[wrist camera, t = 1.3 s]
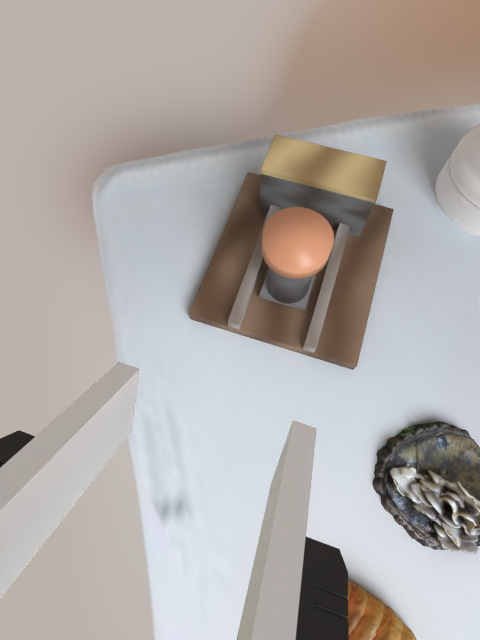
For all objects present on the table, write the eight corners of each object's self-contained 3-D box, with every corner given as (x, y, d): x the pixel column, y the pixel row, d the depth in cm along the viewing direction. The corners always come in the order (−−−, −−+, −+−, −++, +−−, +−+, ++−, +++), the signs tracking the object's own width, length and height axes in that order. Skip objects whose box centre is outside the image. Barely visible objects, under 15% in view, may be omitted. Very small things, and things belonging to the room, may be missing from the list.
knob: (321, 272, 43) (341, 217, 34) (306, 320, 41) (324, 276, 32) (268, 257, 44) (274, 199, 35) (251, 304, 42) (253, 255, 33)
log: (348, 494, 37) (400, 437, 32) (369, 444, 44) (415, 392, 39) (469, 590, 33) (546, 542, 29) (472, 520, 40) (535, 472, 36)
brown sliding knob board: (389, 216, 48) (415, 168, 40) (353, 369, 41) (377, 345, 33) (247, 180, 50) (248, 128, 42) (191, 319, 43) (179, 285, 36)
